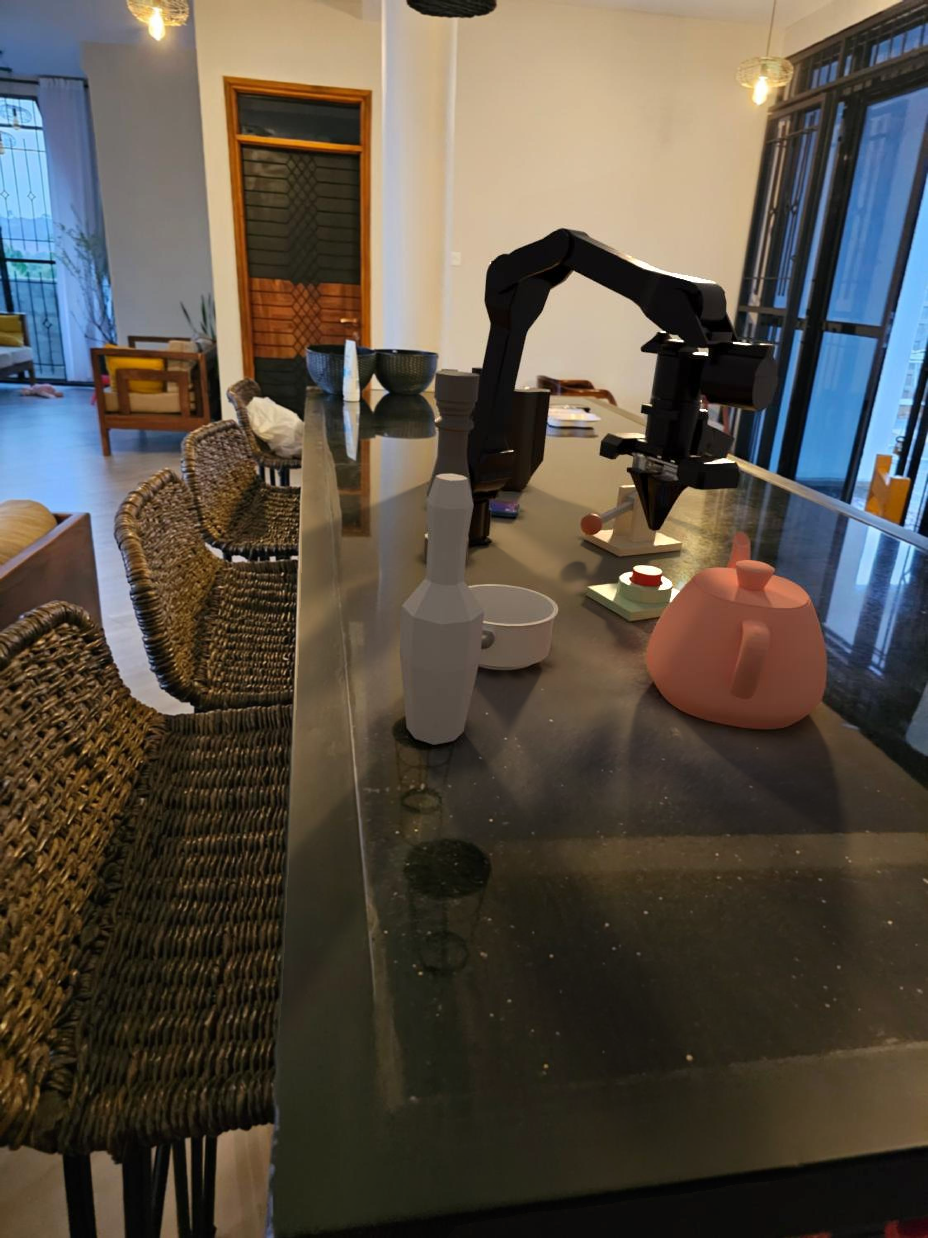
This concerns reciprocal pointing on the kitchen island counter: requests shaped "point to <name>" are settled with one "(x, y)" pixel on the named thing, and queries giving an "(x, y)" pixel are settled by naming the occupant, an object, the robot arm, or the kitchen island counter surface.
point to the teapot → (740, 646)
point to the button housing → (634, 597)
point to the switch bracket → (632, 532)
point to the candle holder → (453, 426)
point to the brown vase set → (524, 432)
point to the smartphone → (504, 508)
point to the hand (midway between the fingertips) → (654, 529)
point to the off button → (646, 576)
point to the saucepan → (514, 626)
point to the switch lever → (606, 516)
